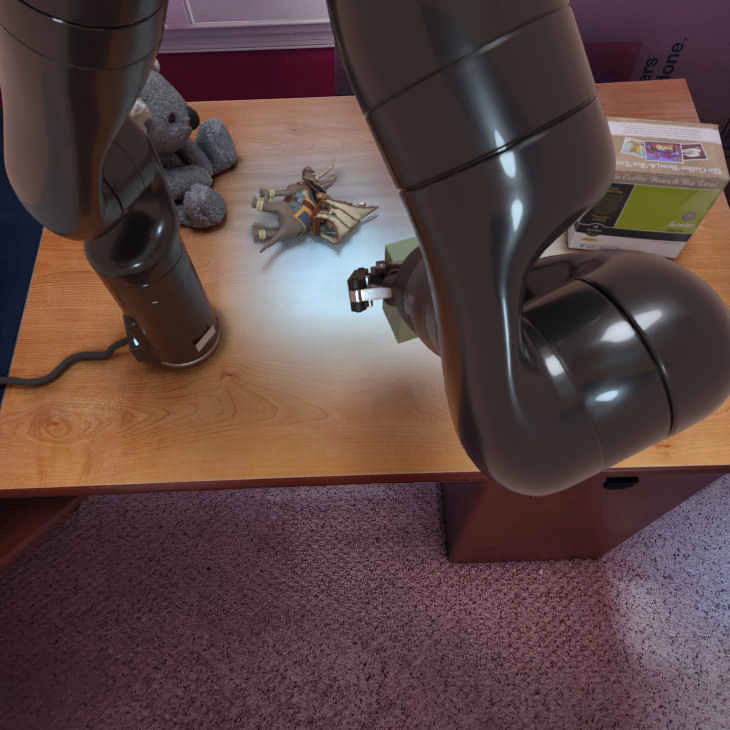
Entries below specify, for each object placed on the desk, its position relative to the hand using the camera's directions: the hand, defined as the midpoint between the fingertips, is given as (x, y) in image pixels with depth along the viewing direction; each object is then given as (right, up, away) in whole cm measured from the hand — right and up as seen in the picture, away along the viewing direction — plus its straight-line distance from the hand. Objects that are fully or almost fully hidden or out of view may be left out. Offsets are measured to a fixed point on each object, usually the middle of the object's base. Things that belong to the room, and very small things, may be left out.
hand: (410, 267), depth 54 cm
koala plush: (-33, +17, +33) cm, 50 cm away
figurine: (-11, +11, +30) cm, 34 cm away
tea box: (+32, +10, +29) cm, 44 cm away
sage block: (0, -5, +5) cm, 6 cm away
